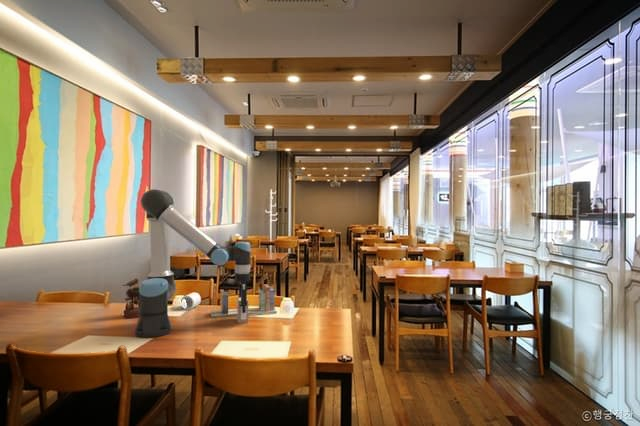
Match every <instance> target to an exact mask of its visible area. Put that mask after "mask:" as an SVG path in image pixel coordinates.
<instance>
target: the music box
mask: <svg viewBox="0 0 640 426" xmlns="http://www.w3.org/2000/svg"><path fill="white" fill-rule="evenodd" d="M139 281H140V280H139V278H138V277H137V278H134V279H131V280H130V281H129V282H127V283H126V284H123V285H122V286H123V287H127V288H126V289H127V290H126V293H125V295H126V296H127V297H125V298H124V300H125V301H127V302H126V304H125V307H124V308H125V309H124V310H123V318H124V319H130V320H131V319H132V320H133V319H139V297H140V293H139V288H140V285H139ZM132 286H133V288H132ZM128 301H129V302H128ZM135 305H136V306H135Z"/></svg>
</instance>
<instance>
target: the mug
mask: <svg viewBox="0 0 640 426" xmlns="http://www.w3.org/2000/svg"><path fill="white" fill-rule="evenodd" d="M180 299H181V302H182V300H183V299H185V300H186V303H187V307H186V308H185V309H186V310H185V309H184V310H185V311H189V310H191V309H193V308H195V307H197V306H199V304H201V301H202V297H201V295H200V294H199V293H198V292H194V291H193V292H190V293H188V294H187V295H184V296H183V297H181V298H180Z"/></svg>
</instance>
